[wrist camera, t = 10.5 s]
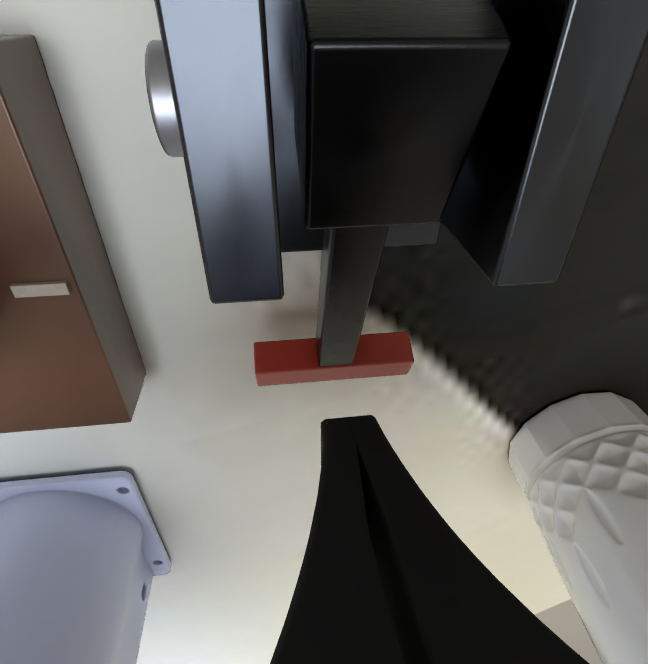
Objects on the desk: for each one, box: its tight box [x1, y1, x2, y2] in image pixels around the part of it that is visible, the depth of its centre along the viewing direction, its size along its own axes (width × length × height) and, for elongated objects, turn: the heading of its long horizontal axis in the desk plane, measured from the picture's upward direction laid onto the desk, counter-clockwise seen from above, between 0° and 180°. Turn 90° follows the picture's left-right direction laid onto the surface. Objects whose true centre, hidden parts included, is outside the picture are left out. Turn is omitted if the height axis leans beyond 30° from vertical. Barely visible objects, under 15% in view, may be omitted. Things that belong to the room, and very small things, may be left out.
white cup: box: [508, 392, 648, 664], centre depth 19 cm, size 8×8×10 cm
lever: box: [254, 0, 512, 386], centre depth 10 cm, size 11×5×2 cm, turn 179°
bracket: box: [145, 0, 648, 304], centre depth 8 cm, size 10×7×8 cm
